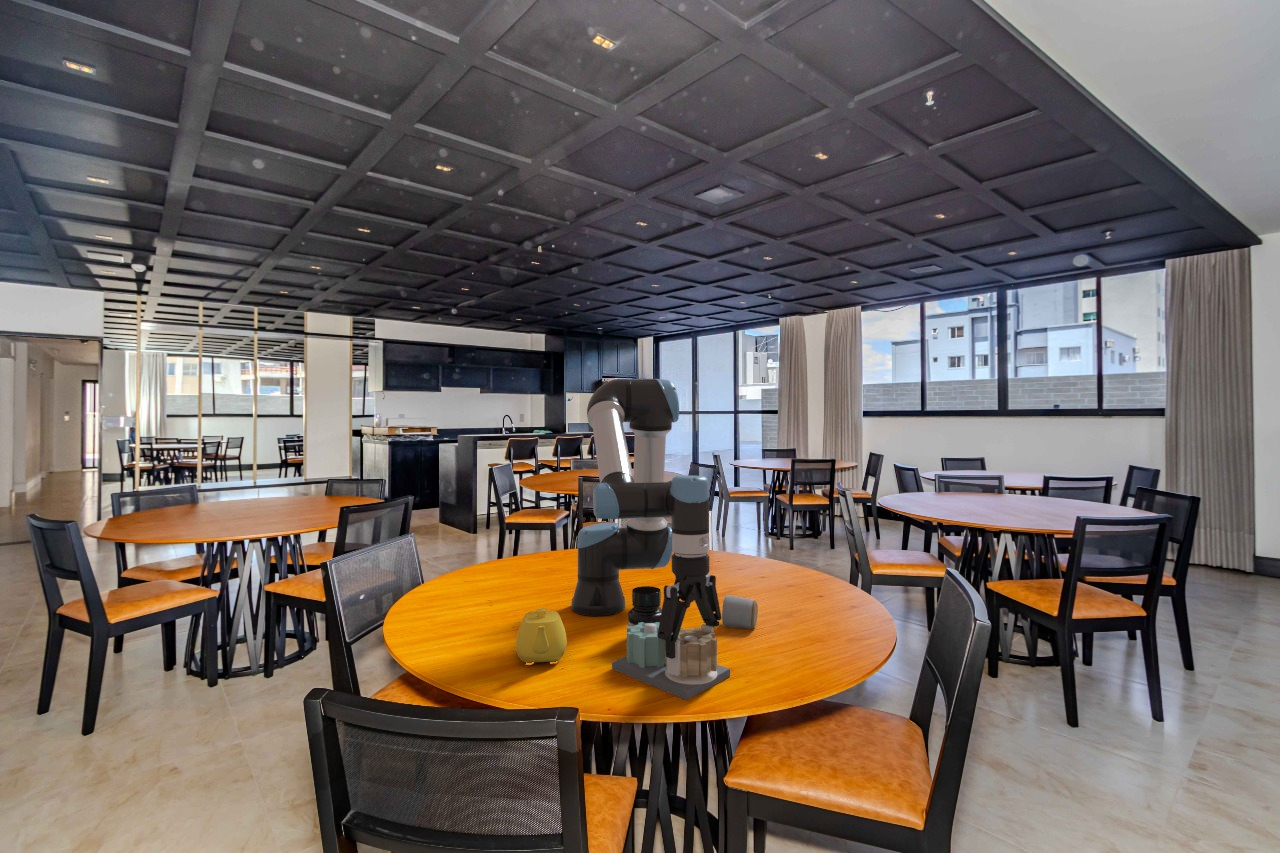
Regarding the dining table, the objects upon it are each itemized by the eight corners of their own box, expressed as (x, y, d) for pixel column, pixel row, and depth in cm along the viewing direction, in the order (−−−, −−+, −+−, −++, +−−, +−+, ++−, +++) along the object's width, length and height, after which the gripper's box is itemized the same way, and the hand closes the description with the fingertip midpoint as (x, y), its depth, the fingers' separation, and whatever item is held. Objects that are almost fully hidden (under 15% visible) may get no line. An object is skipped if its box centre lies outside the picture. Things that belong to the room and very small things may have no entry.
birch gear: (655, 666, 114) (655, 636, 114) (687, 652, 122) (687, 624, 122) (695, 681, 107) (695, 649, 108) (726, 665, 115) (726, 635, 115)
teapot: (568, 675, 118) (567, 622, 118) (513, 679, 116) (512, 625, 116) (565, 643, 135) (565, 597, 135) (518, 645, 134) (518, 599, 134)
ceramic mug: (754, 633, 141) (754, 601, 141) (721, 629, 144) (721, 598, 144) (760, 620, 151) (759, 591, 151) (729, 617, 154) (728, 588, 154)
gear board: (610, 668, 121) (610, 627, 121) (655, 649, 131) (655, 612, 131) (689, 701, 106) (689, 654, 106) (733, 677, 116) (732, 635, 116)
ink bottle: (629, 633, 142) (628, 584, 142) (664, 633, 141) (664, 584, 142) (627, 648, 132) (626, 595, 132) (665, 648, 132) (665, 595, 132)
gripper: (667, 566, 104) (668, 689, 104) (738, 547, 120) (739, 654, 120) (637, 559, 109) (638, 677, 109) (709, 543, 126) (710, 645, 125)
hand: (691, 665), depth 115 cm, fingers closed on birch gear, 10 cm apart
